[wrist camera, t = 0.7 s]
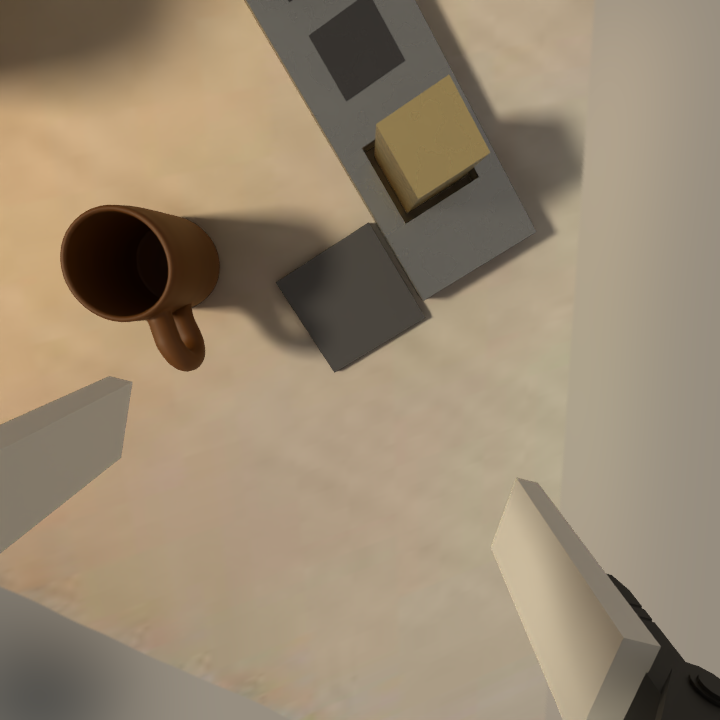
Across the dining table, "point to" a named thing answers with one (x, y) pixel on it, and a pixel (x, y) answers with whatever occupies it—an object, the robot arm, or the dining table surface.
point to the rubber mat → (351, 298)
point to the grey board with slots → (374, 103)
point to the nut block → (428, 144)
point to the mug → (143, 274)
